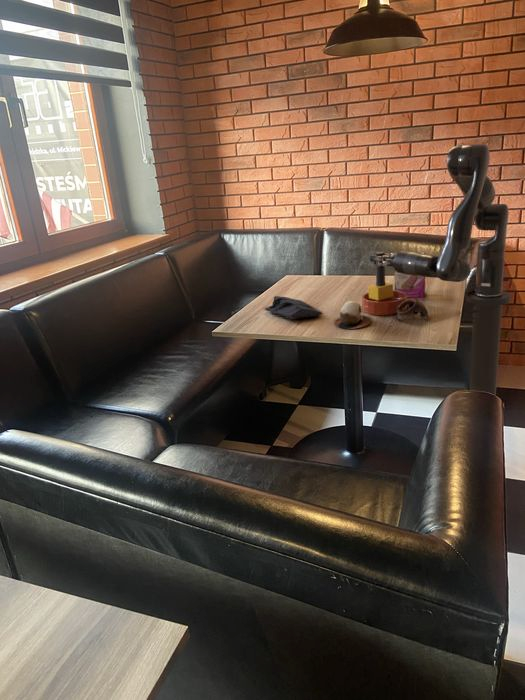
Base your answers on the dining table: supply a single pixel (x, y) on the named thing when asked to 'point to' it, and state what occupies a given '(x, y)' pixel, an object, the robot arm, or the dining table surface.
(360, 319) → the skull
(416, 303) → the pottery mug
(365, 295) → the terracotta ring
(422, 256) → the robot arm
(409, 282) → the candy bar box
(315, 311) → the folded black cloth
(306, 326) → the dining table surface
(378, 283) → the sponge wand
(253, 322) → the dining table surface
